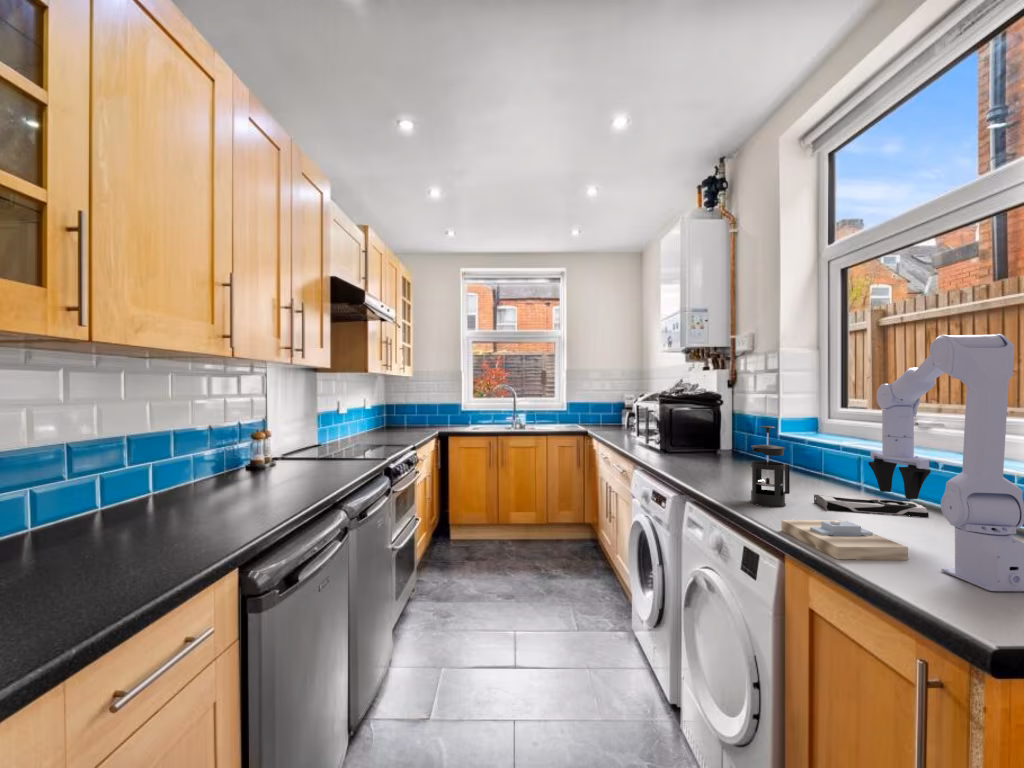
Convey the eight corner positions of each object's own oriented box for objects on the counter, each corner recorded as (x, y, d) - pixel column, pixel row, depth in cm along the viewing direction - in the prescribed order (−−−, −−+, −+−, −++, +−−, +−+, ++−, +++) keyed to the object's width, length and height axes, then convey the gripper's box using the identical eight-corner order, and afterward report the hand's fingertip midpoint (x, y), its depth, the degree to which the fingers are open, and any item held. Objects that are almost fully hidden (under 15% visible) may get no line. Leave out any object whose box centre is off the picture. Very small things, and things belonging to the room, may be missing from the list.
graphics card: (813, 493, 145) (914, 499, 138) (813, 504, 145) (914, 511, 138) (823, 500, 136) (932, 507, 128) (823, 512, 136) (932, 520, 128)
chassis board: (908, 559, 96) (908, 547, 96) (837, 559, 96) (837, 546, 96) (839, 530, 116) (839, 520, 116) (781, 530, 116) (781, 520, 116)
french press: (760, 507, 139) (760, 427, 139) (741, 500, 148) (741, 425, 149) (798, 507, 140) (798, 427, 141) (777, 499, 150) (777, 425, 150)
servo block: (872, 547, 104) (872, 524, 104) (821, 547, 104) (821, 523, 104) (859, 541, 108) (859, 519, 108) (810, 541, 108) (810, 518, 108)
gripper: (942, 439, 105) (943, 502, 105) (890, 433, 120) (890, 488, 120) (910, 439, 105) (910, 502, 105) (861, 433, 120) (862, 488, 120)
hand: (898, 495), depth 112 cm, fingers open, 7 cm apart
